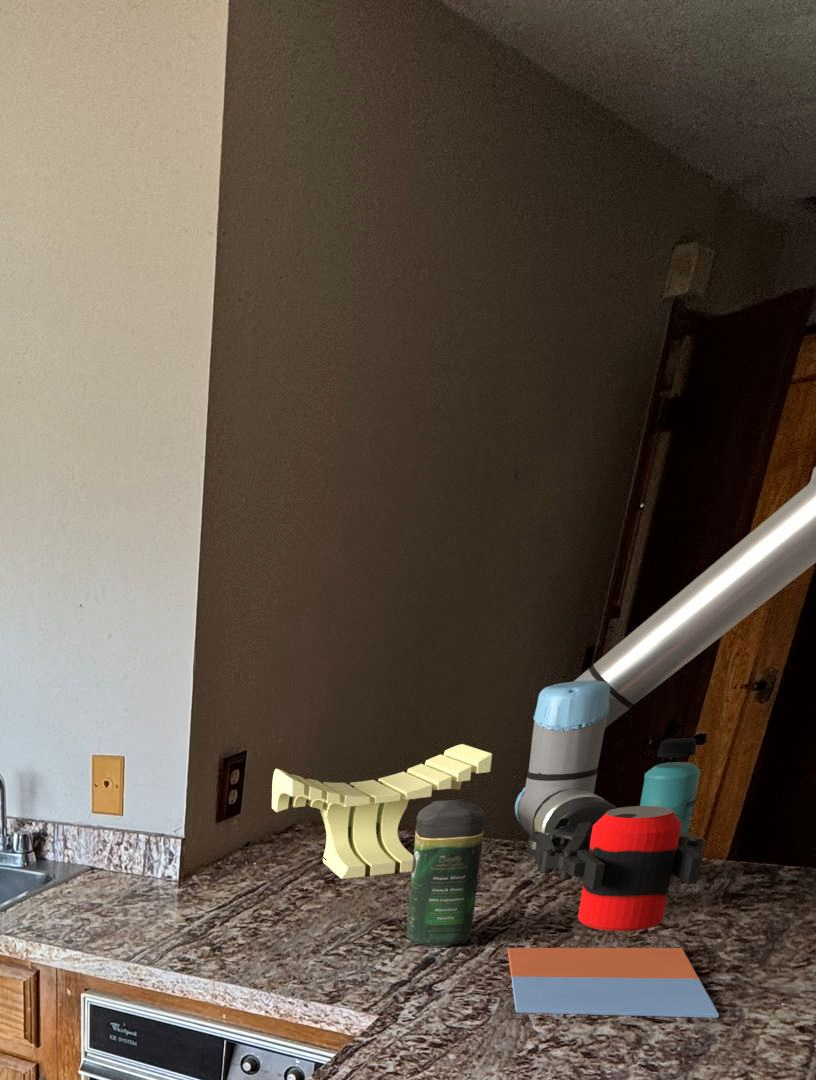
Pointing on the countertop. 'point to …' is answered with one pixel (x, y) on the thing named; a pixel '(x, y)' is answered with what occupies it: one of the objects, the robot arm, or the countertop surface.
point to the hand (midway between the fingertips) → (645, 874)
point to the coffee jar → (445, 873)
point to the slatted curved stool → (374, 809)
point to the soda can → (631, 868)
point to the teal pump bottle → (673, 781)
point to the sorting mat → (608, 982)
